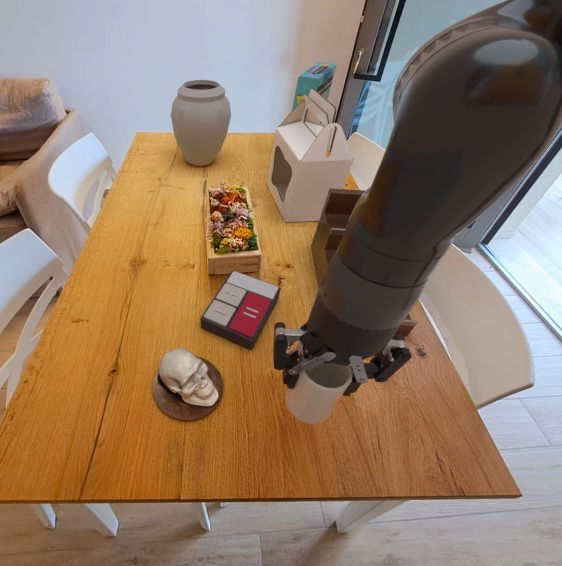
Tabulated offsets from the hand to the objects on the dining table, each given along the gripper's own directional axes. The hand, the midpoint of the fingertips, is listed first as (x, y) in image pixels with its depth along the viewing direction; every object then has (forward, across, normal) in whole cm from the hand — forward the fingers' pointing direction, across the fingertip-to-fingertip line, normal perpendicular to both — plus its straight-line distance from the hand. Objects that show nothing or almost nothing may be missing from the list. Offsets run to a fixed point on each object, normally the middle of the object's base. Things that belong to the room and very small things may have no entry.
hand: (316, 385), depth 42 cm
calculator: (+13, -9, +22) cm, 27 cm away
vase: (+13, -26, +91) cm, 95 cm away
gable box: (+13, +6, +68) cm, 70 cm away
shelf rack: (+13, +15, +34) cm, 39 cm away
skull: (+13, -18, +4) cm, 22 cm away
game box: (+13, +10, +100) cm, 102 cm away
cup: (+5, 0, 0) cm, 5 cm away
